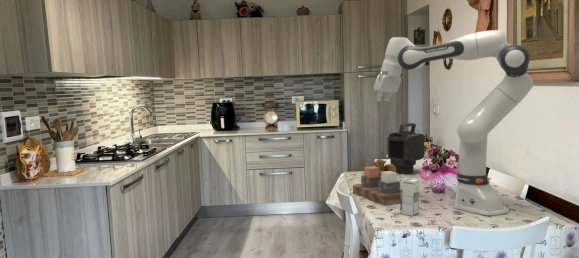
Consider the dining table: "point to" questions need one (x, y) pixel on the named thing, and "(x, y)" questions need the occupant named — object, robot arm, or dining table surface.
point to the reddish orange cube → (371, 171)
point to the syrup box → (409, 196)
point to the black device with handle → (405, 148)
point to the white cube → (388, 177)
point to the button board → (378, 190)
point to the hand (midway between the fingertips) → (382, 101)
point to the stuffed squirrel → (382, 168)
